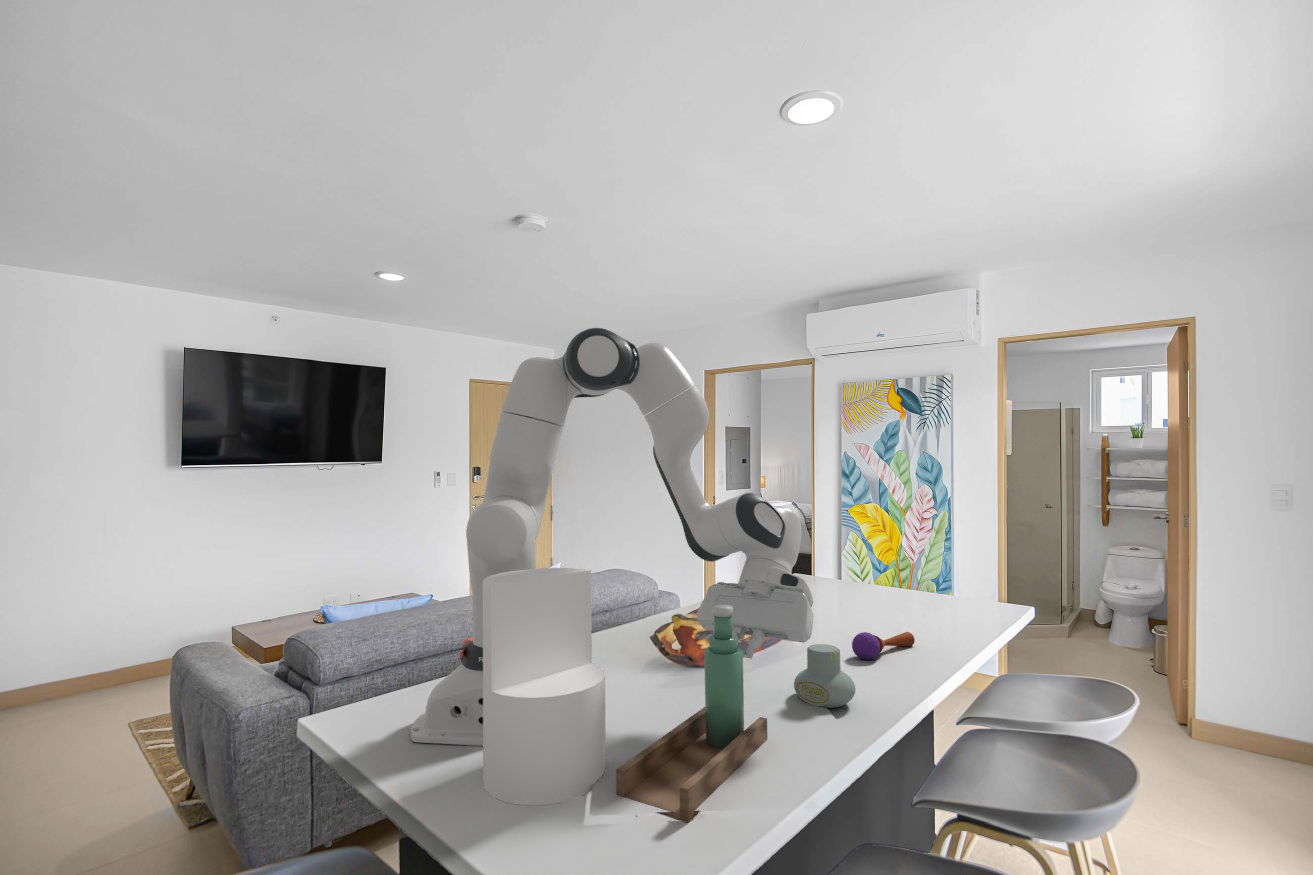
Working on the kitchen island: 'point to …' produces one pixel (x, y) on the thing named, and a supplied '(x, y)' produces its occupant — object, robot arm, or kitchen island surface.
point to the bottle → (723, 682)
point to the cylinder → (541, 687)
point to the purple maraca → (878, 644)
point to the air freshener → (824, 678)
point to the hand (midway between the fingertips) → (742, 655)
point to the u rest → (685, 767)
